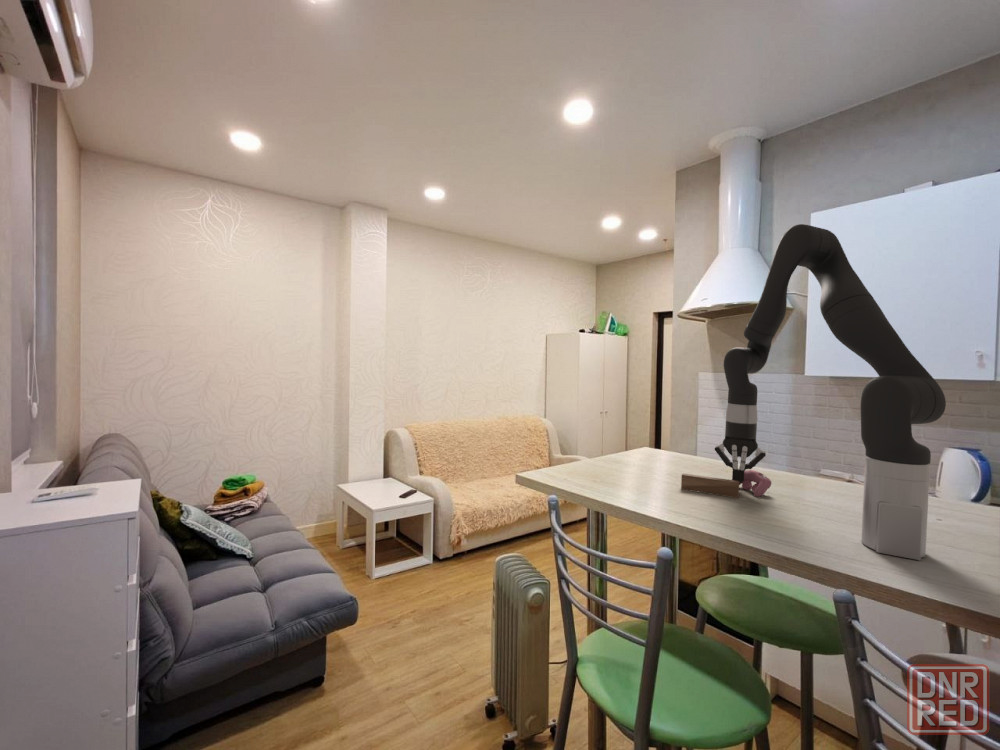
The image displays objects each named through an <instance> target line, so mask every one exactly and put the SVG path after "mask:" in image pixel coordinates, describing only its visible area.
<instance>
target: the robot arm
mask: <svg viewBox="0 0 1000 750" xmlns="http://www.w3.org/2000/svg"><path fill="white" fill-rule="evenodd" d="M798 267H804V268H806V269H808V270H809V271H810V272H811V273H812V274H813V276H814V277H815V279H816V280H817V282H818V284H819V285H820V288H821V289H820V290H821V294H820V299H819V300H820V302H819V308H820V312H821V316H822V317H823V320H824V321H825V323H826V325H827V326H828V328H829V330H830V331H831V333H832V335H833V336H834V337H835V338H836V339H837V340H838V341H839V342H840V343H841V344H842V345H844V346H845V347H846V348H848V349H849V350H850V351H851V352H853V353H854V354H856V355H857V356H858V357H860V358H861V359H862V360H864V362H866V363H868V365H870V367H871V368H873V370H874V371H875V372H876V374H877V375H878V376H876V377H873V378H872V379H870V380H869V381H868V382H867V383H866V384H865V386H864V388H863V390H862V393H861V398H860V435H861V440H862V443H863V445H864V448H865V456H864V457H865V458H864V473H863V474H864V478H863V498H862V499H863V500H862V518H861V519H862V523H861V543H862V544H863V545H865V547H869V548H870V549H872V550H874V551H875V552H876V553H879V554H883V555H888V556H889V555H890V556H895V557H899V558H900V557H901V558H907V559H911V560H918V561H922V558H924V557H925V556H926V552H927V551H926V550H927V534H928V533H927V530H928V512H929V493H930V492H929V491H930V478H931V477H930V474H931V460H932V459H931V455H932V453H931V450H930V448H929V447H927V446H926V445H924V444H921V443H919V442H918V441H916V440H915V438H914V437H913V432H912V430H913V429H912V425H921V424H922V425H923V424H930V423H933V422H936V421H938V420H939V419H940V418H941V417H942V416H943V415H944V413H945V410H946V405H947V404H946V403H947V402H946V397H945V393H944V391H943V389H942V387H941V386H940V385H939V383H938V382H937V381H936V379H935V378H934V377H933V376H932V375H931V374H930V373H929V371H928V370H927V369H926V368H925V367H924V366H923V364H922V363H921V362H920V361H919V359H917V357H915V356H914V354H913V353H912V352H911V351H910V349H909V348H908V346H907V345H906V344H905V343H904V341H903V340H902V339H901V337H900V335H899V334H898V333H897V331H896V329H894V327H893V325H892V324H891V323H890V322H889V319H888V318H887V317H886V315H885V314H884V312H883V310H882V309H881V307H880V305H879V304H878V303H877V301H876V300H875V299H874V297H873V295H872V294H871V293H870V291H869V290H868V289H867V287H866V286H865V284H864V283H863V282H862V279H861V278H860V277H859V276H858V274H857V273H856V271H855V270H854V268H853V267H852V265H851V263H850V261H849V259H848V257H847V255H846V253H845V250H844V249H843V246H842V245H841V242H840V240H839V238H838V237H837V236H836V234H835V233H833V232H832V231H831V230H829V229H826V228H821V227H818V226H813V225H809V224H803V223H801V224H799V223H798V224H795V225H793V226H791V227H789V228H788V230H787V231H785V232H784V234H783V235H782V237H781V238H780V240H779V243H778V244H777V248H776V250H775V252H774V255H773V259H772V262H771V265H770V267H769V271H768V274H767V277H766V280H765V284H764V286H763V290H762V292H761V296H760V298H759V300H758V302H757V304H756V307H755V309H754V310H753V313H752V314H751V317H750V319H749V321H748V322H747V325H746V326H745V329H744V330H743V336H744V338H746V340H748V343H747V345H746V347H733V348H731V349H729V350H728V351H727V352H726V353H725V356H724V358H723V370H724V371H723V372H724V375H725V379H726V380H725V381H726V384H727V387H728V392H727V393H728V394H727V406H726V413H725V414H726V415H725V429H724V433H725V434H724V438H723V440H722V443H720V444H719V445H716V446H714V451H715V453H716V454H717V455H718V457H719V458H720V459H721V460H722V461H723V463H724V465H725V466H726V467H729V468H732V473H731V474H732V475H731V480H732V479H733V480H735V481H739V483H740V485H742V484H741V482H743V481H744V471H745V470H752V469H753V468H754V467H755V466H756V465H758V463H760V462H761V461H762V460H763V459H764V458H765V457H766V455H767V454H766V451H764V450H763V449H761V448H759V447H758V446H759V445H758V443H757V429H758V428H757V427H758V425H757V424H758V406H757V405H758V387H757V385H756V384H755V383H752V382H750V378H749V374H750V375H751V374H752V375H753V374H756V373H758V372H760V371H761V370H762V369H763V368H764V366H765V365H766V364H767V362H768V359H769V353H770V350H771V347H772V341H773V339H774V338H775V335H776V334H777V332H778V330H779V329H780V327H781V326H782V323H783V322H784V319H785V316H786V313H787V302H788V301H787V300H788V299H787V297H788V287H789V284H790V281H791V278H792V276H793V273H794V272H795V270H796V268H798ZM725 451H727V452H728V454H729V455H731V458H732V461H731V460H730V459H729V457H728V456H727V455H726V453H725ZM753 454H754V455H755V457H753V458H752V459H751V460H750V461H749V462H747V458H749V457H750V456H751V455H753ZM739 458H740V462H739ZM739 463H740V464H739Z"/></svg>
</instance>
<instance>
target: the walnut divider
mask: <svg viewBox="0 0 1000 750" xmlns="http://www.w3.org/2000/svg"><path fill="white" fill-rule="evenodd" d="M680 483H681V487H680V489H681V490H685V491H690V490H692V492H697V491H699V492H698V493H703V492H705V493H704V494H709V493H711V494H710V495H716V494H717V496H722V495H723V496H724V497H729V496H730V497H731V498H736V499H739V497H740V485H739V481H735V480H732V479H725V478H719V477H712V476H705V475H698V474H697V475H696V474H692V473H691V474H689V473H684V472H683V473H681V482H680ZM723 496H722V497H723ZM730 497H729V498H730Z"/></svg>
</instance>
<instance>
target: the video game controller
mask: <svg viewBox="0 0 1000 750" xmlns="http://www.w3.org/2000/svg"><path fill="white" fill-rule="evenodd" d="M731 480H733V479H732V478H731ZM752 482H753V483H754V484H752ZM739 486H741V488H742V489H743V490H746V491H750V490H751V491H752V492H753V496H754V497H755V498H756V497H757V498H758V497H762V496H763V495H765V494H766V493H767V490H768V489H770V487H771V486H772V481H771V479H770V478H769V477H767V476H766V475H765V474H763V473H761V472H759V471H756V470H752V469H746V470H745V471H744V481H743V482H741V484H740V483H739Z"/></svg>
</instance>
